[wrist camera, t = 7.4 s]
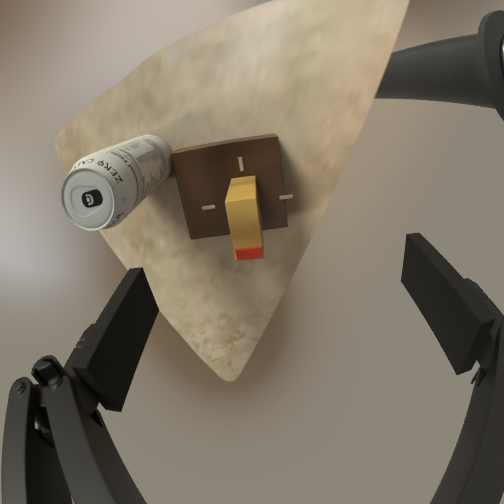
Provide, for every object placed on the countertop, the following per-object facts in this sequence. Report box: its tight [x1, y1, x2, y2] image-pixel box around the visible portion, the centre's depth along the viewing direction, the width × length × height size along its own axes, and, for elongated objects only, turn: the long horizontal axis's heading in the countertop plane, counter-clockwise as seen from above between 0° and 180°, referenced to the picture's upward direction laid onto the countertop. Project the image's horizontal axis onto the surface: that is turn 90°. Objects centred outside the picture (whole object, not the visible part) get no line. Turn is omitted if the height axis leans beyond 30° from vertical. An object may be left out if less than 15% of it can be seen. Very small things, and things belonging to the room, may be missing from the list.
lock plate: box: [171, 134, 293, 239], centre depth 32 cm, size 12×11×3 cm
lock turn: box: [225, 176, 264, 261], centre depth 27 cm, size 6×2×8 cm, turn 8°
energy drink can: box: [61, 135, 173, 231], centre depth 25 cm, size 6×6×15 cm
